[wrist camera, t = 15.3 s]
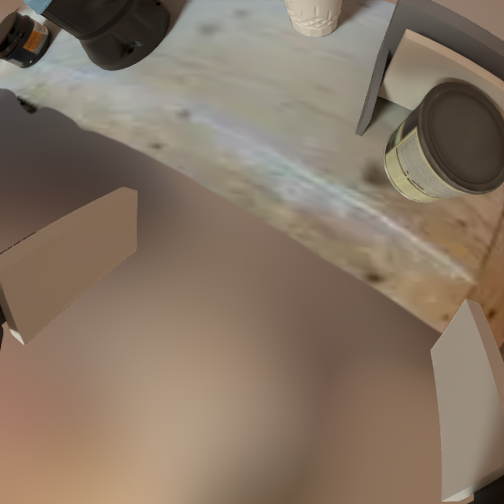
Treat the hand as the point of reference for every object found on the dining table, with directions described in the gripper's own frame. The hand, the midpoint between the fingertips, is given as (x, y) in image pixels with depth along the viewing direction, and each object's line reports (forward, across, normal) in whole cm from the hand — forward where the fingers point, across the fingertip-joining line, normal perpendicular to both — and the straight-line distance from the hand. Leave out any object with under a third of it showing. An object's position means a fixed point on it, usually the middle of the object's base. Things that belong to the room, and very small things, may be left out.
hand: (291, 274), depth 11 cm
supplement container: (+33, -65, +12) cm, 74 cm away
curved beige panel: (+32, +12, +9) cm, 35 cm away
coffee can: (+30, +11, +2) cm, 32 cm away
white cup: (+37, -7, +18) cm, 41 cm away
